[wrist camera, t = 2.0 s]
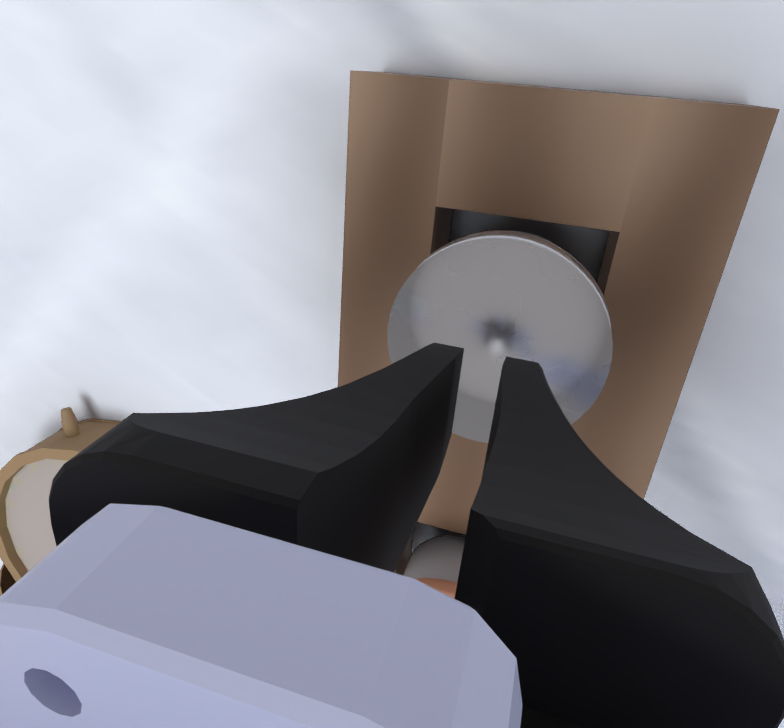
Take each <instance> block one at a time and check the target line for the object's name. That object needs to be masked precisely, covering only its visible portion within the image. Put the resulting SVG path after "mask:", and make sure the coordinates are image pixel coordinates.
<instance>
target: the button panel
mask: <svg viewBox="0 0 784 728" xmlns="http://www.w3.org/2000/svg"><path fill="white" fill-rule="evenodd" d="M778 112H779V109H774V108H767V107H760V106H753V105H744V104H733V103H721V102H710V101H699V100H688V99H677V98H666V97H654V96H643V95H632V94H621V93H610V92H599V91H587V90H576V89H565V88H554V87H543V86H532V85H520V84H509V83H498V82H487V81H476V80H465V79H453V78H442V77H431V76H420V75H409V74H398V73H386V72H369V71H350V96H349V121H348V146H347V171H346V196H345V221H344V247H343V272H342V297H341V322H340V347H339V372H338V387H340V386H343V385H345V384H348V383H351V382H353V381H355V380H358V379H360V378H362V377H364V376H367V375H369V374H371V373H374V372H376V371H378V370H381V369H383V368H385V367H387V366H389V365H391V360H390V356H389V350H388V342H387V337H388V323H389V316H390V313H391V310H392V306H393V303H394V301H395V299H396V297H397V295H398V292H399V291H400V289H401V288H402V286H403V284H404V283H405V281H406V280H407V279H408V278H409V277H410V275H411V274H412V273H413V272H414V271H415V270H416V269H417V267H418V266H419V265H420V264H421V263H422V262H423V261H424V260H425V259H426V258H427V257H428V256H430V255H431V254H432V253H433V252H434V251H436V250H437V249H439V248H440V247H442V246H443V245H445V244H447V243H449V237H450V229H451V221H452V212H453V209H458V210H465V211H472V212H480V213H487V214H494V215H501V216H508V217H515V218H522V219H530V220H537V221H544V222H551V223H558V224H565V225H572V226H580V227H587V228H594V229H601V230H608V231H610V233H609V237H608V241H607V245H606V249H605V253H604V257H603V261H602V265H601V269H600V273H599V277H598V281H597V285H598V286H599V288H600V289H601V292H602V294H603V296H604V299H605V301H606V304H607V308H608V311H609V315H610V323H611V332H612V341H613V349H612V361H611V366H610V371H609V374H608V377H607V379H606V382H605V385H604V387H603V389H602V390H601V392H600V394H599V396H598V397H597V399H596V400H595V402H594V403H593V404H592V406H591V407H590V408H589V409H588V410H587V411H586V412H585V413H584V414H583V415H582V416H581V417H580V418H579V419H578V420H576V421H575V422H574V423H572V424H571V426H572V427H573V429H574V430H575V432H576V433H577V434H578V436H579V437H580V438H581V440H582V441H583V442H584V443H585V444H586V446H587V447H588V448H589V449H590V450H591V451H592V452H593V453H594V454H595V456H596V457H597V458H598V459H599V460H600V461H601V462H602V463H603V464H604V465H605V466H606V467H607V468H608V469H609V470H610V471H611V472H612V473H613V474H614V475H615V476H616V477H617V478H619V479H620V480H621V481H622V482H623V483H624V484H626V485H627V486H628V487H629V488H630V489H631V490H633V491H634V492H635V493H636V494H637V495H638V496H640V497H641V498H642V499H644V497H645V494H646V491H647V488H648V485H649V482H650V479H651V476H652V474H653V471H654V468H655V465H656V462H657V459H658V456H659V454H660V451H661V448H662V445H663V442H664V439H665V436H666V433H667V431H668V428H669V425H670V422H671V419H672V416H673V413H674V411H675V408H676V405H677V402H678V399H679V396H680V393H681V390H682V388H683V385H684V382H685V379H686V376H687V373H688V370H689V368H690V365H691V362H692V359H693V356H694V353H695V350H696V347H697V345H698V342H699V339H700V336H701V333H702V330H703V327H704V325H705V322H706V319H707V316H708V313H709V310H710V307H711V304H712V302H713V299H714V296H715V293H716V290H717V287H718V284H719V282H720V279H721V276H722V273H723V270H724V267H725V264H726V261H727V259H728V256H729V253H730V250H731V247H732V244H733V241H734V239H735V236H736V233H737V230H738V227H739V224H740V221H741V218H742V216H743V213H744V210H745V207H746V204H747V201H748V198H749V196H750V193H751V190H752V187H753V184H754V181H755V178H756V175H757V173H758V170H759V167H760V164H761V161H762V158H763V155H764V153H765V150H766V147H767V144H768V141H769V138H770V135H771V132H772V130H773V127H774V124H775V121H776V118H777V115H778ZM487 447H488V443H484V442H478V441H474V440H471V439H467V438H464V437H462V436H459V435H457V434H454V433H452V434H451V438H450V441H449V445H448V448H447V451H446V455H445V458H444V461H443V464H442V467H441V471H440V474H439V476H438V478H437V480H436V483H435V485H434V487H433V489H432V491H431V493H430V496H429V498H428V500H427V502H426V504H425V506H424V508H423V510H422V513H421V515H420V517H419V519H418V521H417V522H420V523H423V524H427V525H431V526H435V527H438V528H442V529H446V530H450V531H454V532H457V533H461V534H465V535H466V531H467V525H468V520H469V514H470V509H471V506H472V504H473V502H474V499H475V497H476V494H477V491H478V489H479V486H480V484H481V479H482V474H483V469H484V463H485V458H486V452H487ZM412 537H413V532H412V534H411V536H410V538H409V540H408V542H407V544H406V547H405V549H404V551H403V553H402V555H401V557H400V560H399V562H398V565H397V567H396V569H395V572H394V573H397V574H400V575H404V572H405V570H406V567H407V564H408V561H409V559H410V553H411V545H412Z"/></svg>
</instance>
